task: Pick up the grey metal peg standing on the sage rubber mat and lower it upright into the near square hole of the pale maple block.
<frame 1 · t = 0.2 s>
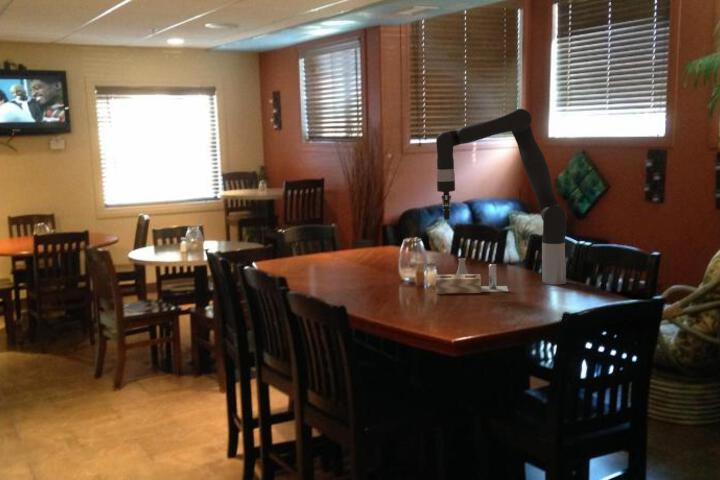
hand: (446, 218, 303), 29 cm above the table, fingers open, 8 cm apart
peg: (492, 288, 294), resting on mat
mat: (492, 289, 294), on the table
flask: (462, 281, 313), on the table
hole block: (458, 291, 294), on the table
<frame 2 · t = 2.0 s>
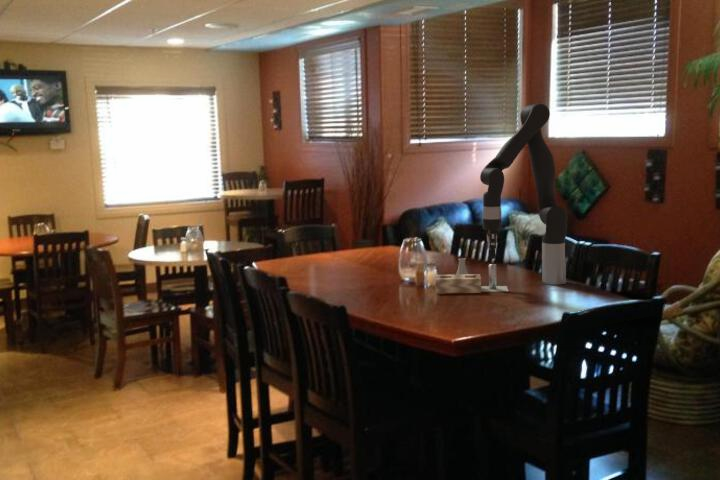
hand: (491, 256, 292), 14 cm above the table, fingers open, 8 cm apart
nothing on the table moved.
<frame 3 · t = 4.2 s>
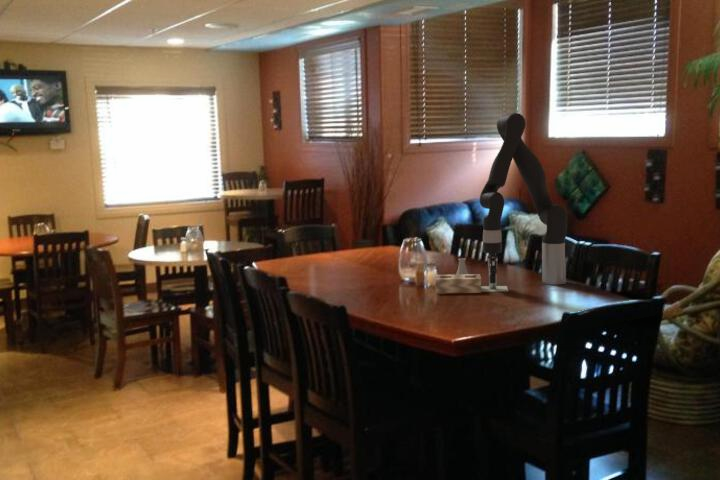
hand: (492, 282, 293), 3 cm above the table, fingers closed on peg, 3 cm apart
peg: (492, 288, 294), resting on mat, touching gripper
everything else where it was.
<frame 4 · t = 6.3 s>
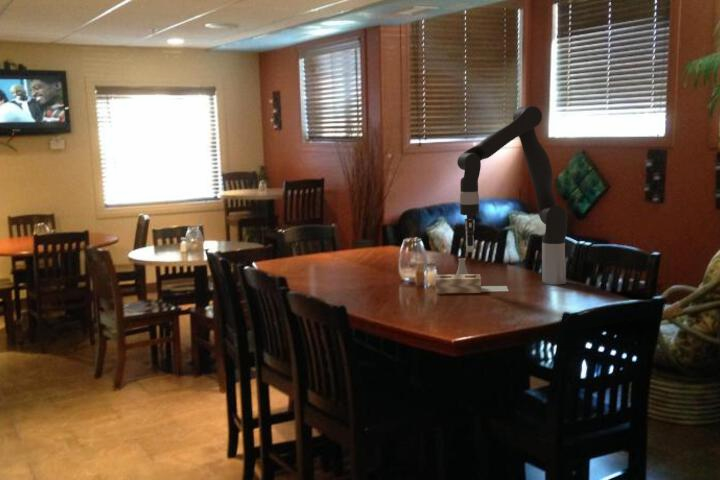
hand: (470, 245, 290), 19 cm above the table, fingers closed on peg, 3 cm apart
peg: (470, 251, 291), point 16 cm above the table, touching gripper
everything else where it was.
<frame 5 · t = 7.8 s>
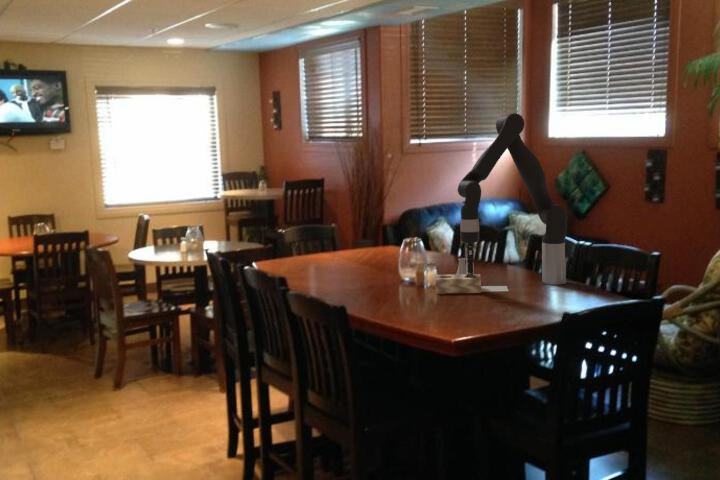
hand: (470, 271, 292), 8 cm above the table, fingers closed on peg, 3 cm apart
peg: (470, 278, 292), point 5 cm above the table, touching gripper
everything else where it was.
when the fingers open (7 cm above the table, at t = 8.6 s): peg drops 4 cm, resting in hole block.
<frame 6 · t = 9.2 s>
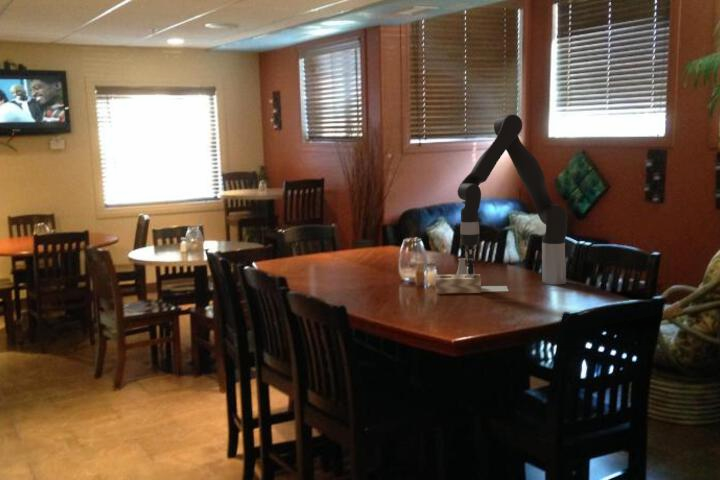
hand: (470, 272, 292), 8 cm above the table, fingers open, 8 cm apart
peg: (470, 290, 293), resting in hole block
everything else where it was.
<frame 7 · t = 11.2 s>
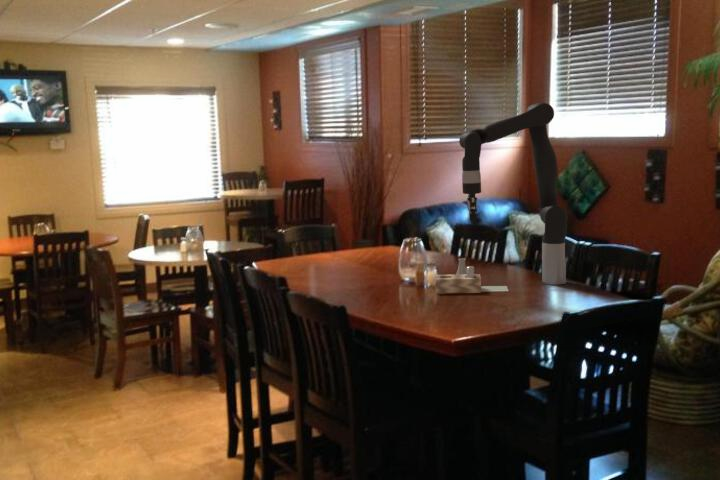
hand: (472, 221, 293), 28 cm above the table, fingers open, 8 cm apart
nothing on the table moved.
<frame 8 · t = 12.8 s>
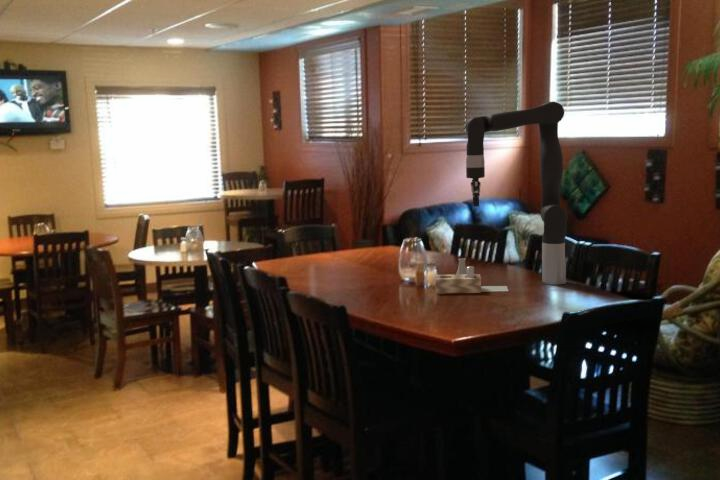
hand: (475, 205, 298), 34 cm above the table, fingers open, 8 cm apart
nothing on the table moved.
at the end: peg 0.0 cm from the target spot on the hole block, point 0.0 cm above the hole block's base; peg tilted 0°; the gripper is holding nothing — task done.
